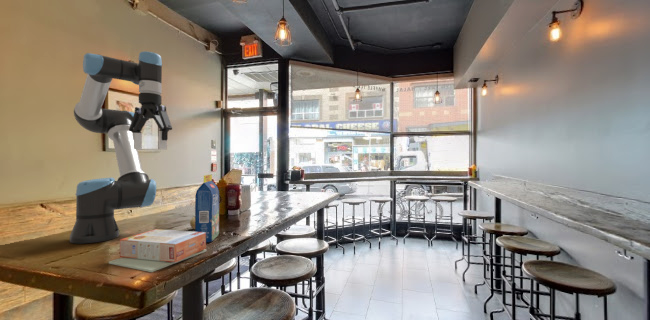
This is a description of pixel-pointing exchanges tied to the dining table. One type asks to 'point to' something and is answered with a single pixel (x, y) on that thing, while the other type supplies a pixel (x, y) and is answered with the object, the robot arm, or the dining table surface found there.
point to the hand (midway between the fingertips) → (150, 149)
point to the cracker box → (163, 245)
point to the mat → (146, 263)
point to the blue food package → (207, 209)
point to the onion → (192, 223)
